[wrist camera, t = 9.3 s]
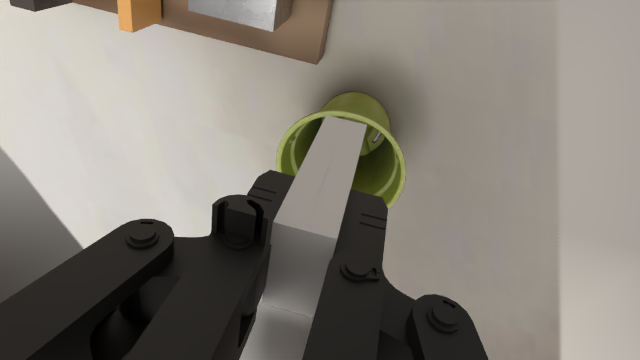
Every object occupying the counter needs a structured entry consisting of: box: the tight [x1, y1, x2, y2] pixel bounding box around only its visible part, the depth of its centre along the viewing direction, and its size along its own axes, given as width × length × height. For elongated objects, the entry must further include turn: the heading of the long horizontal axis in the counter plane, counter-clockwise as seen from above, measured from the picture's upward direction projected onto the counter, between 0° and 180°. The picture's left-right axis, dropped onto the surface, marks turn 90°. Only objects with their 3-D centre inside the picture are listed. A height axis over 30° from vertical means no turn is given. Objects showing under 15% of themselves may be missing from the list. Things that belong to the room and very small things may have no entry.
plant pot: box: [276, 92, 406, 209], centre depth 34 cm, size 9×9×9 cm
